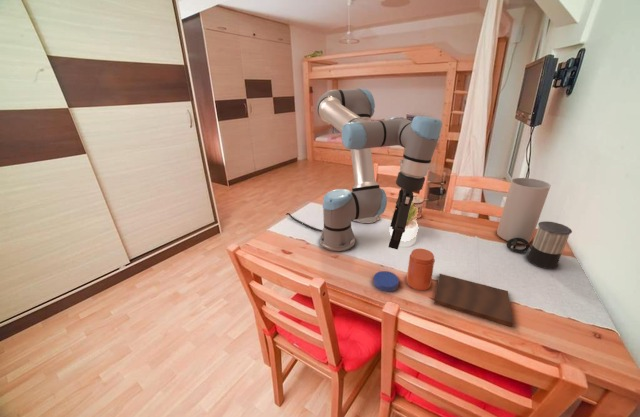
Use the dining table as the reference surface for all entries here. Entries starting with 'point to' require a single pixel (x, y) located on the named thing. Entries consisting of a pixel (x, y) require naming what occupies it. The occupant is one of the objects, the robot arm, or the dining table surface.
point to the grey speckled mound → (368, 219)
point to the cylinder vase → (522, 208)
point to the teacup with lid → (418, 204)
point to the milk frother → (544, 244)
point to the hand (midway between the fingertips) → (393, 236)
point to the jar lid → (386, 281)
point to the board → (474, 299)
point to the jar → (420, 269)
